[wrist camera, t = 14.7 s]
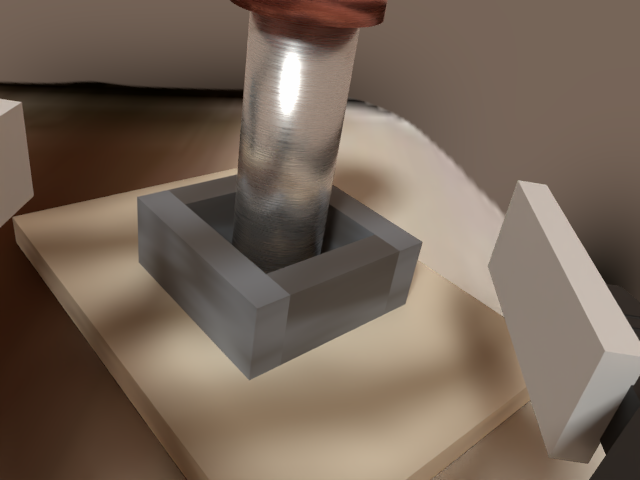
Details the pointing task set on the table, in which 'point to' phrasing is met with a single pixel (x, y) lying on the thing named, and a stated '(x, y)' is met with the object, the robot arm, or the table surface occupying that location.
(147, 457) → the table surface
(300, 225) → the pin
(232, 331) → the socket
